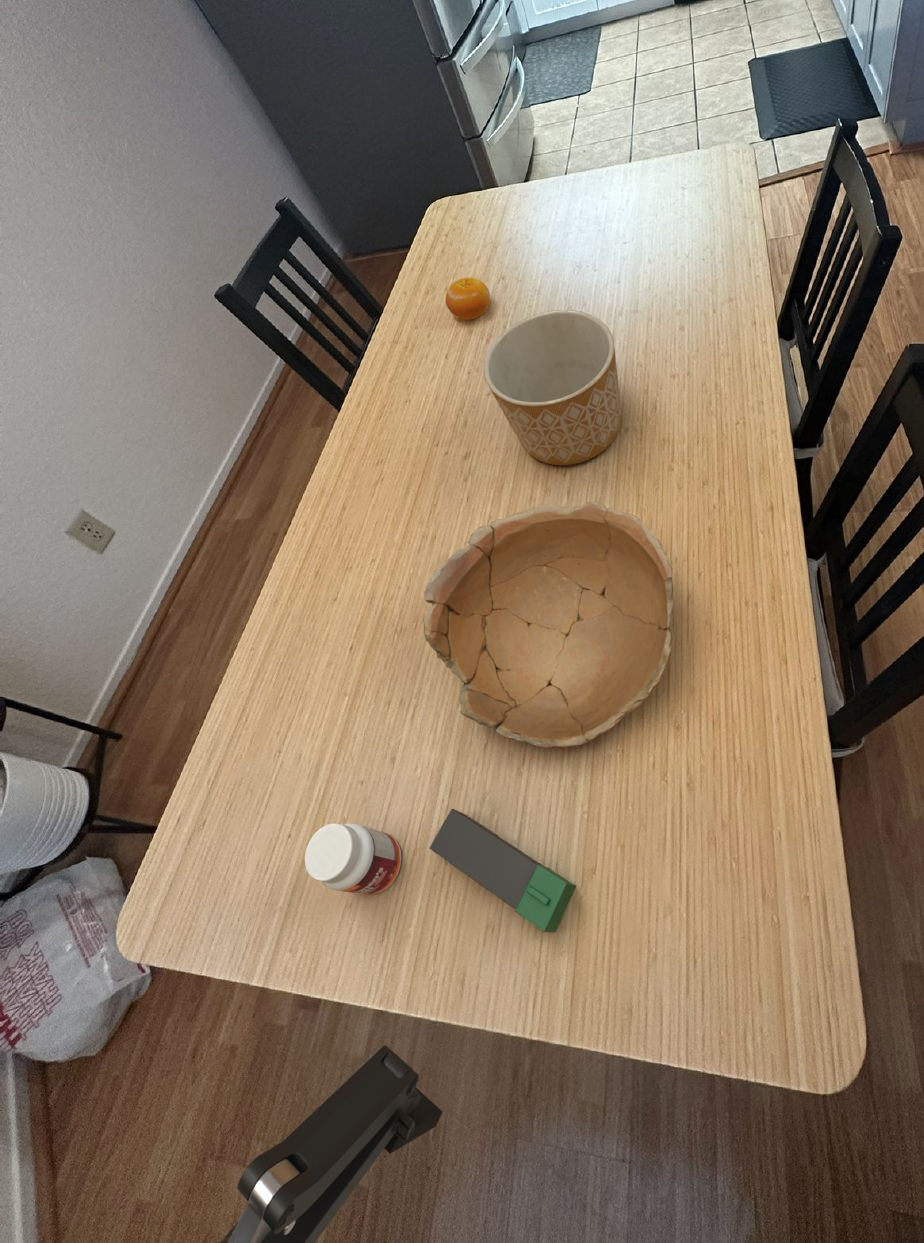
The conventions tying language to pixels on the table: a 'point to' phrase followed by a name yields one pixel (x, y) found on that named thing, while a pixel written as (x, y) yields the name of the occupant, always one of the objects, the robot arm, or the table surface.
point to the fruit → (468, 298)
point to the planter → (557, 385)
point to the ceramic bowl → (554, 621)
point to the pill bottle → (353, 858)
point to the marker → (504, 870)
